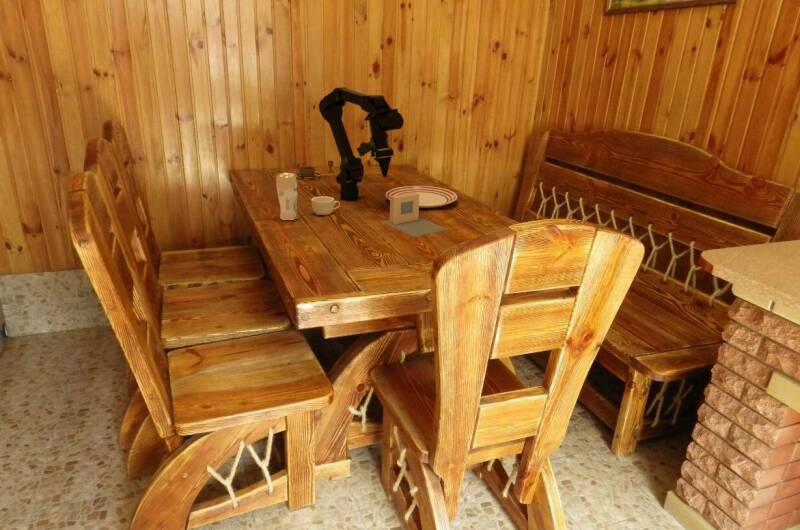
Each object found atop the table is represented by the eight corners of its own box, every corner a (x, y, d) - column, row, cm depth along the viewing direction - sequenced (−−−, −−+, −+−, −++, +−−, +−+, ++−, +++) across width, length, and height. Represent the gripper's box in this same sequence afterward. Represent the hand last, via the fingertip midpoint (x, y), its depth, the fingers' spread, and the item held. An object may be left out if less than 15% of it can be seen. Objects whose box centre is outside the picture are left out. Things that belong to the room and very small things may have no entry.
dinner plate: (452, 215, 192) (453, 206, 190) (377, 209, 197) (378, 200, 195) (460, 196, 217) (460, 188, 216) (393, 191, 222) (393, 183, 220)
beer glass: (281, 222, 178) (279, 178, 173) (276, 217, 184) (273, 173, 179) (302, 220, 181) (300, 176, 176) (295, 214, 187) (293, 172, 182)
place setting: (290, 175, 247) (289, 162, 245) (332, 172, 254) (332, 160, 252) (298, 183, 232) (297, 170, 230) (342, 180, 239) (342, 167, 237)
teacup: (313, 217, 184) (313, 202, 182) (310, 211, 191) (309, 197, 189) (342, 216, 187) (342, 201, 185) (338, 210, 194) (337, 195, 192)
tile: (389, 222, 180) (390, 196, 177) (413, 217, 185) (414, 192, 182) (394, 224, 178) (394, 197, 175) (418, 219, 183) (419, 194, 180)
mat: (381, 223, 180) (381, 221, 180) (415, 216, 188) (415, 215, 188) (413, 237, 167) (414, 236, 167) (448, 230, 175) (448, 229, 174)
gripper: (354, 136, 196) (360, 178, 200) (357, 134, 178) (364, 181, 182) (384, 132, 198) (389, 174, 201) (390, 130, 180) (397, 177, 183)
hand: (384, 177), depth 192 cm, fingers closed
